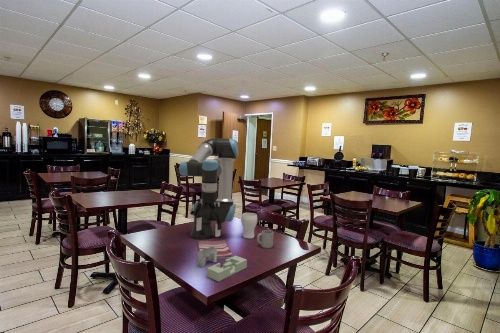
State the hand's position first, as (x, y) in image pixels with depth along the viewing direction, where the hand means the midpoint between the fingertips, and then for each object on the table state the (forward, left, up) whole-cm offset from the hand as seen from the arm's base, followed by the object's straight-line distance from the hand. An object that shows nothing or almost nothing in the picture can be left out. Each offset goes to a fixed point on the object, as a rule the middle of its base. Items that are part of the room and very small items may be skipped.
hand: (208, 233), depth 142 cm
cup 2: (+7, +41, -16) cm, 45 cm away
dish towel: (-10, +15, -17) cm, 25 cm away
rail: (+14, 0, -16) cm, 21 cm away
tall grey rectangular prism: (0, 0, -16) cm, 16 cm away
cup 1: (-11, +48, -16) cm, 52 cm away
